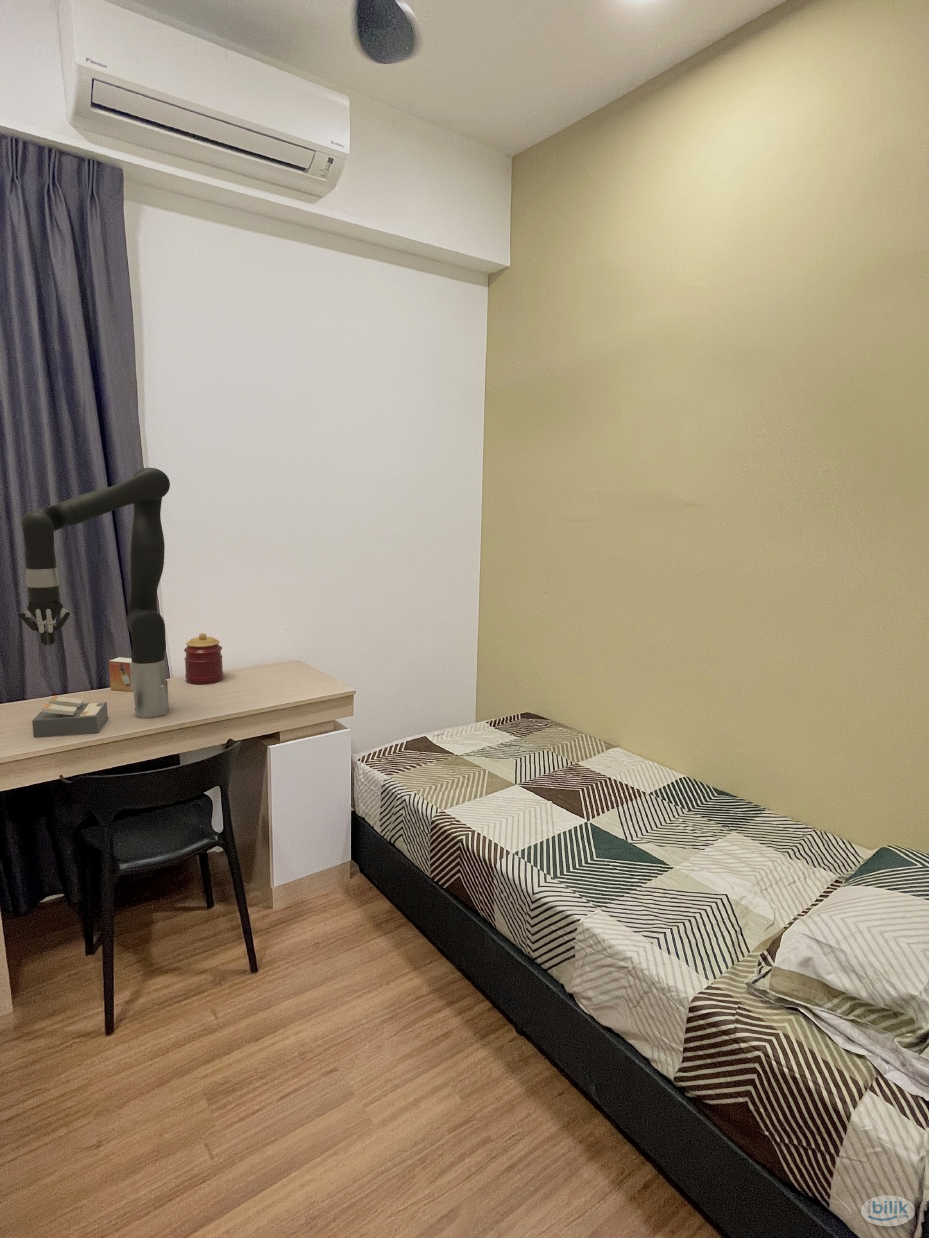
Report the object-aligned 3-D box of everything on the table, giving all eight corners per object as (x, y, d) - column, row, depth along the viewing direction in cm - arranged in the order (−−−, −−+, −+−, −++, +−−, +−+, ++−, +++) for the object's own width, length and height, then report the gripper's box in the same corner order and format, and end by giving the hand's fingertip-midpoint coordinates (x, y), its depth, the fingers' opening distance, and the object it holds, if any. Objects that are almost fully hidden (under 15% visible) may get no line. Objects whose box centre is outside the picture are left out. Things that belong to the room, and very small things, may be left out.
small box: (110, 690, 223) (108, 660, 221) (121, 685, 229) (119, 656, 227) (131, 692, 222) (129, 662, 220) (142, 687, 228) (140, 658, 225)
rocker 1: (82, 703, 194) (83, 699, 194) (79, 707, 191) (80, 703, 190) (52, 699, 191) (53, 695, 191) (48, 703, 188) (49, 699, 188)
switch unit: (107, 717, 198) (106, 699, 197) (98, 733, 186) (96, 714, 185) (47, 721, 193) (46, 703, 192) (33, 737, 181) (31, 718, 180)
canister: (195, 674, 245) (192, 628, 242) (229, 675, 245) (227, 630, 241) (179, 684, 232) (176, 636, 229) (214, 685, 232) (212, 637, 228)
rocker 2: (76, 711, 187) (77, 706, 187) (73, 715, 184) (74, 710, 184) (45, 707, 185) (45, 703, 184) (41, 711, 181) (41, 707, 181)
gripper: (74, 582, 185) (79, 640, 189) (19, 582, 181) (25, 642, 185) (66, 586, 178) (72, 647, 182) (10, 586, 174) (16, 649, 178)
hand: (48, 644), depth 183 cm, fingers closed
